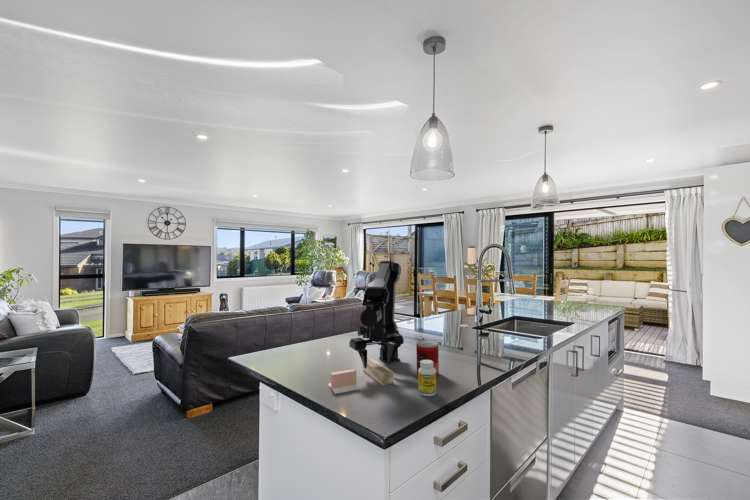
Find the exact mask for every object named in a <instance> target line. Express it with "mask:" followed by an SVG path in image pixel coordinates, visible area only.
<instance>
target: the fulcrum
mask: <svg viewBox="0 0 750 500" xmlns="http://www.w3.org/2000/svg"><path fill="white" fill-rule="evenodd" d="M327 386H328V387H329V389H330V390H331V391H332V392H333V393H334V394H335V395H337V394H342V393H347V392H353V391H356V390H360V388H361V387H360V386H359V384H357V370H356V369H354V368H352V369H346V370H339V371H333V372H330V383H328V385H327Z"/></svg>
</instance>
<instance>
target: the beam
mask: <svg viewBox="0 0 750 500" xmlns="http://www.w3.org/2000/svg"><path fill="white" fill-rule="evenodd" d="M362 372H363V373H365V374H367V375H368V376H370V378H372V379H373V380H375V381H376V382H377V383H379V384H380V385H382V386H386V385H392V384H394V371H392V370H391V369H390V368H388V367H386V366H385V365H383V364H381V363H379V362H378V361H377V360H375V359H373V358H371V359H367V368H366V369H365V368H364V366H363V365H362Z"/></svg>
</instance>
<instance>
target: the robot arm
mask: <svg viewBox="0 0 750 500" xmlns="http://www.w3.org/2000/svg"><path fill="white" fill-rule="evenodd" d="M378 265H379V267H378V270H377V272H376V275H375V278H374V279H373V281H370V282H369V283H368V285H367V287H366V288H365V291H364V294H363V295H364V296H363V300H362V306H363V307H365V309H363V311H362V312H361V314H360V315H359V316H360V322H361V323H362V325H361V326H357V335H358V337H355V338H354V337H353V338H350V339H349V347H350V348H351V349H352V350H354V351H356V352H357V353H358V355H359V357H360V360H361V362H362V367H363V366H364V368H365V369H366V368H367V360H368V349H366V348H367V346H373V345H378V346H380V347H379V357H378V359H380V360H381V361H383V362H384V363H387V364H388V365H391V363H392V362H399V361H401V358H399V348H400V347H401V346H402V345H403V344H404V343H405V339H404V336H403V335H401V334H400V331H399V327H398V325H397V322H396V321H395V307H396V305H395V304H396V285H397V283H398V282H399V280H400V279H401V278H400V277H401V276H400V275H401V274H402V267H401V265H400V264H399V263H396V262H394V261H393V260H380V261H379V264H378ZM361 336H362V337H361Z"/></svg>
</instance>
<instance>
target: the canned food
mask: <svg viewBox="0 0 750 500" xmlns="http://www.w3.org/2000/svg"><path fill="white" fill-rule="evenodd" d="M415 349H416V350H415V351H416V373H417V375H418V369H419V368H420V367H421V366H420V361H421V360H431V361H433V368H434V369H435V370H436V377H437V376H438V375H439V371H440V370H439V369H440V367H439V366H440V364H439V363H440V362H439V358H440V357H439V342H437V341H435V340H430V339H429V340H428V339H426V340H419V341H417V342H416V348H415Z"/></svg>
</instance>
